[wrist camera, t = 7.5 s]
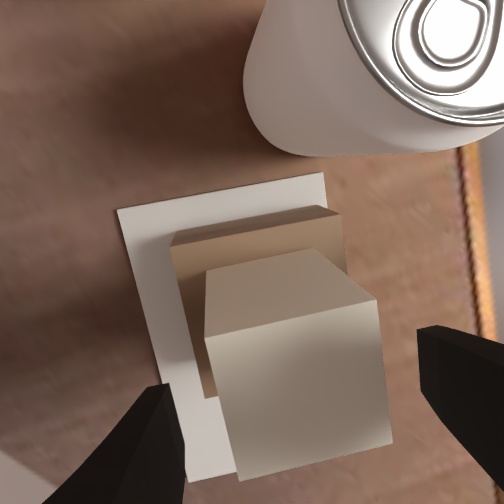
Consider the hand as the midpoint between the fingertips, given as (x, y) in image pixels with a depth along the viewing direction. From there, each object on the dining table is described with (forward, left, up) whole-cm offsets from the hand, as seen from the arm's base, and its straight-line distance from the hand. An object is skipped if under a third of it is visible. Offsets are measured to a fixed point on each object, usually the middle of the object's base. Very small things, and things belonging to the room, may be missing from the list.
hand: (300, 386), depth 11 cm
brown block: (0, 0, -9) cm, 9 cm away
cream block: (0, 0, -6) cm, 6 cm away
